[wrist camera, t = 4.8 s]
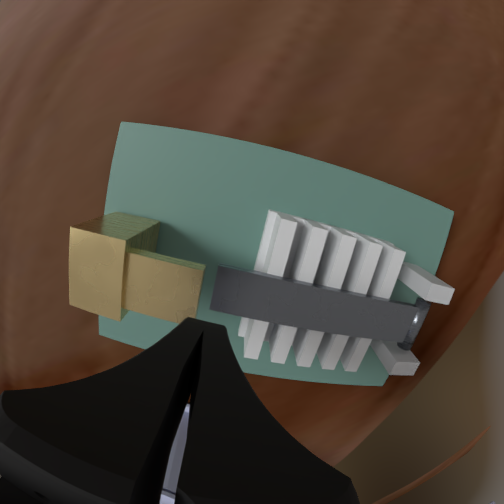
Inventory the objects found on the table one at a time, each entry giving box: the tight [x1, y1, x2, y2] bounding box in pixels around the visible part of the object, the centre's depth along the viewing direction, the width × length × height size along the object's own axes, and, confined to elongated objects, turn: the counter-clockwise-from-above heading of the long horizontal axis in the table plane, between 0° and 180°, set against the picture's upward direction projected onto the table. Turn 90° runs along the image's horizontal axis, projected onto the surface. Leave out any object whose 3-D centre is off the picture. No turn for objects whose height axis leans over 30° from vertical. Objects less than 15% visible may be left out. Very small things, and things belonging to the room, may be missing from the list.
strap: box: [209, 263, 431, 351], centre depth 14 cm, size 3×12×1 cm, turn 77°
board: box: [99, 122, 455, 386], centre depth 16 cm, size 15×23×6 cm, turn 77°
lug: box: [69, 211, 206, 324], centre depth 14 cm, size 4×6×5 cm, turn 77°
